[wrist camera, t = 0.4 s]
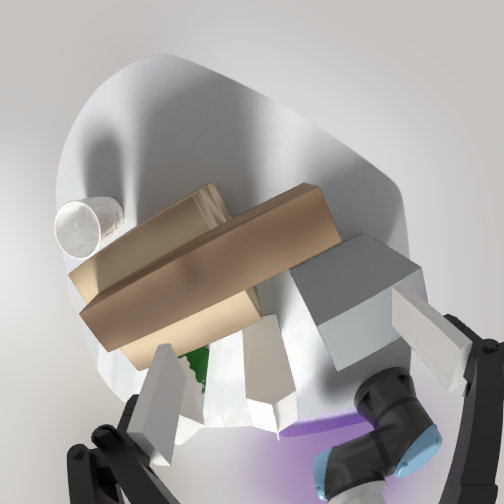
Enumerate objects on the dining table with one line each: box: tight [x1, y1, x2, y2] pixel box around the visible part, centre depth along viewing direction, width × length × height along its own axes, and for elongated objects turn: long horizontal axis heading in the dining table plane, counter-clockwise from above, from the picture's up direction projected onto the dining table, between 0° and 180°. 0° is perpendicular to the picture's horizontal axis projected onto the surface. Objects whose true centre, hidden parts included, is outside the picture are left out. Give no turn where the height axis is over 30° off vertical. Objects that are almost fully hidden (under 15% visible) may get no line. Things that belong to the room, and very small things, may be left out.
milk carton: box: [175, 347, 209, 445], centre depth 40 cm, size 9×9×20 cm
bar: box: [79, 183, 342, 352], centre depth 21 cm, size 4×20×4 cm, turn 117°
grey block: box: [290, 232, 428, 372], centre depth 38 cm, size 8×14×17 cm, turn 117°
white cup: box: [54, 197, 124, 259], centre depth 37 cm, size 8×8×10 cm
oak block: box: [68, 182, 262, 371], centre depth 33 cm, size 12×14×21 cm
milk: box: [242, 314, 298, 440], centre depth 38 cm, size 6×6×22 cm
